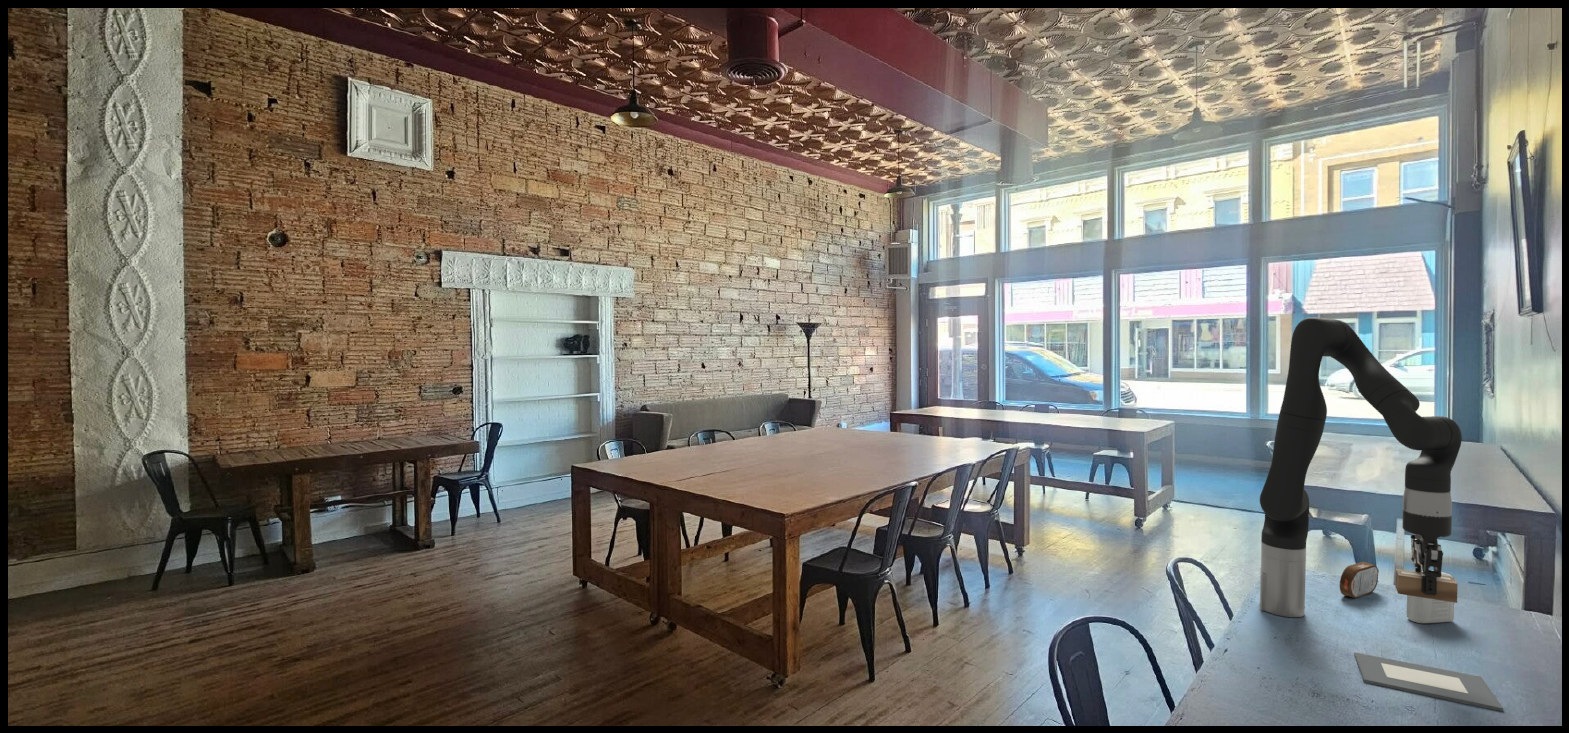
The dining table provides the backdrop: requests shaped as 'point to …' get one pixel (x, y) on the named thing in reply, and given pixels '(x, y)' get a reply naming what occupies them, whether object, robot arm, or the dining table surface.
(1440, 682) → the mat
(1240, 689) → the dining table surface
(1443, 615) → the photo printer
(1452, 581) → the card box
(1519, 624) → the dining table surface
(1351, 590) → the tin
